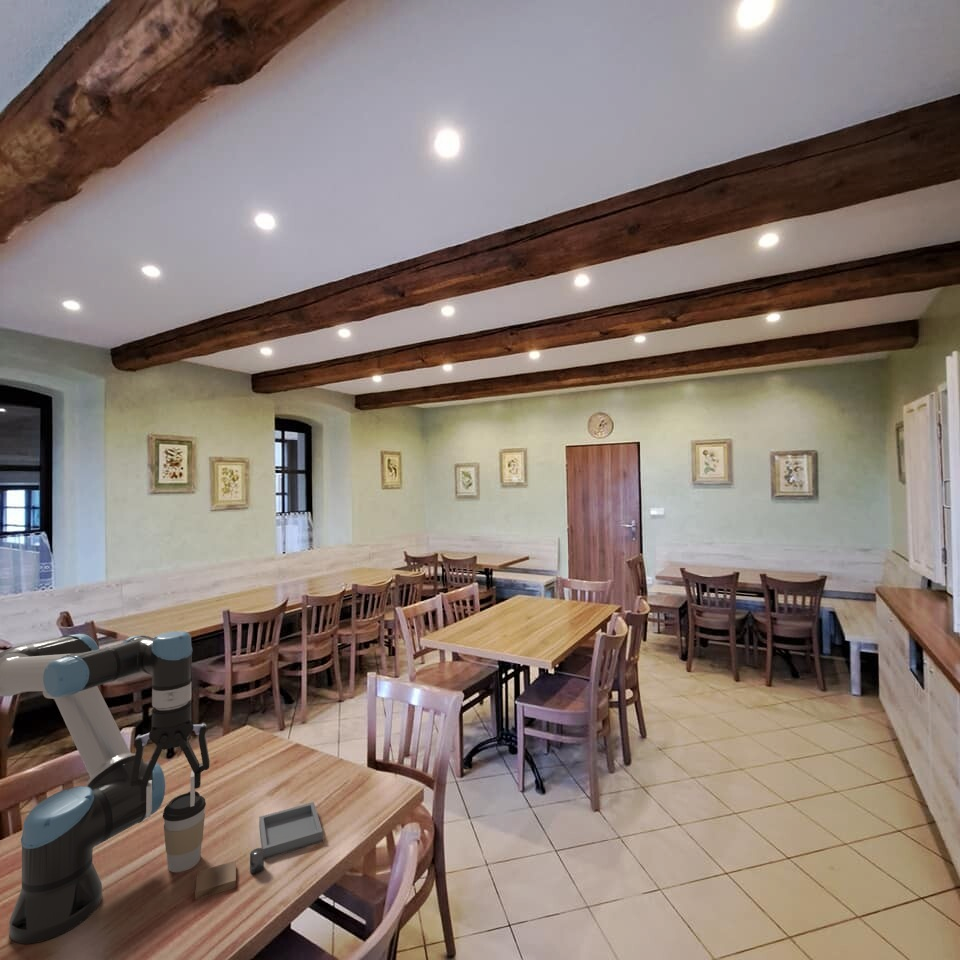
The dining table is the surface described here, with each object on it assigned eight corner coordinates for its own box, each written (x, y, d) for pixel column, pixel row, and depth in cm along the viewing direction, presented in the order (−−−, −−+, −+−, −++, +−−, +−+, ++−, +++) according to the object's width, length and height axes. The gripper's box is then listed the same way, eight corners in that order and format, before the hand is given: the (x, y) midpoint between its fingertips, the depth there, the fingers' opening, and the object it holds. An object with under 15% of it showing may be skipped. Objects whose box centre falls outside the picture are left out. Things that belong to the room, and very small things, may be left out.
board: (195, 901, 111) (195, 892, 112) (197, 880, 118) (197, 871, 118) (235, 889, 115) (235, 880, 115) (235, 869, 121) (236, 860, 121)
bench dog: (250, 876, 118) (250, 858, 118) (249, 867, 121) (249, 850, 121) (264, 871, 120) (264, 854, 120) (263, 863, 122) (263, 846, 122)
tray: (263, 859, 124) (263, 849, 124) (259, 826, 136) (259, 816, 136) (322, 841, 130) (322, 831, 130) (313, 811, 142) (313, 802, 142)
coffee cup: (186, 878, 118) (186, 812, 118) (152, 873, 119) (153, 808, 120) (214, 851, 127) (214, 790, 127) (182, 846, 128) (183, 786, 129)
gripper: (112, 720, 106) (111, 832, 105) (223, 701, 115) (222, 804, 114) (119, 706, 112) (118, 812, 112) (223, 690, 122) (222, 787, 121)
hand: (171, 808), depth 113 cm, fingers open, 8 cm apart
